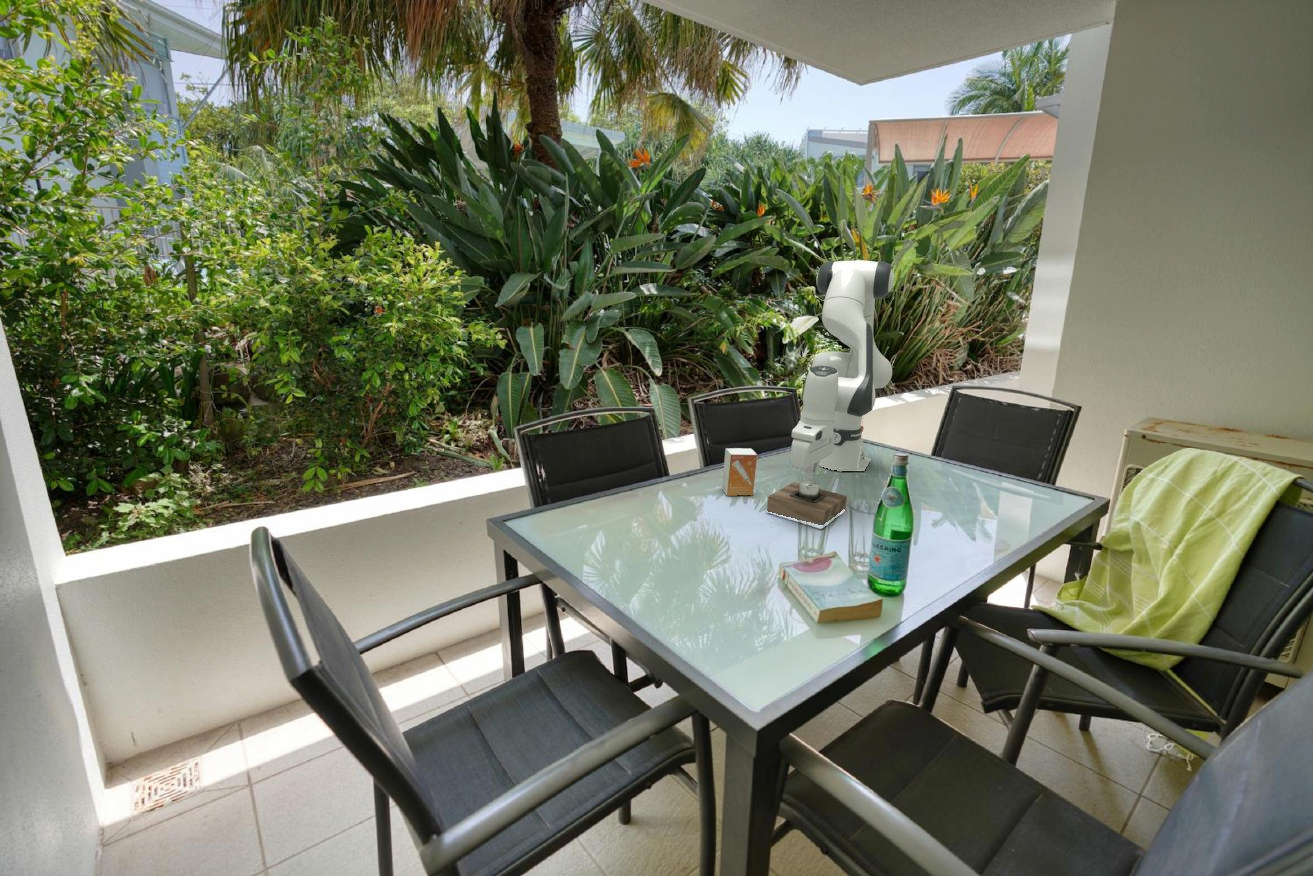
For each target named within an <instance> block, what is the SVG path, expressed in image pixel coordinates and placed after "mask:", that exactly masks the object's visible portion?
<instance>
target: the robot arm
mask: <svg viewBox="0 0 1313 876" xmlns="http://www.w3.org/2000/svg"><path fill="white" fill-rule="evenodd" d="M815 282H816V287H817V291H818V292H819V293H820V295H822V296H825V297H824V302H823V306H822V310H821V311H822V313H821V314H822V315H821V321H822V324H823V326H824V328H825V329H826V330H827V331H828V332H829V334H830V335H832V336H834V337H835V338H837V339H839V341H840V342H841V343H843V344H844V345H846V346H848V347H849V348H850V350H851V351H852V352H844V351H837V350H836V351H834V350H833V351H821V352H819V353H818V354H816V356H815V357H814V359H813V361H812V363H811V368H810V369H808V373H807V376H806V379H805V382H804V384H803V386H802V393H801V394H802V395H801V400H802V403H803V407H802V411H801V412H800V413H801V414H800V418H799V419H800V420H798V422H797V425H795V427H794V428H792V431H791V438H793V439H792V443H791V449H790V465H791V467H792V468H795V469H799V470H804V471H805V476H804V477H805V478H807V479H812V478H814V477H816V475H817V471H818V467H821V468H823V467H824V469H826V468H828V469H827V470H830V469H831V470H830V471H834V470H837V471H836V472H842V471H853V470H865V469H866V467H867V466H868V464H869V462H870V461H871V462H872V458H870V457H868V456H866V450H867V445H866V444H865V443H864V441H863V440H862V434H863V431H864V426H863V425H862V418H863V416H866V415H867V414H868V413H870V412H872V410H873V408H874V406H875V403H876V398H877V397H876V389H883V388H885V387H886V386H887V385H888V384H889V383H890V381H891V379H892V377H893V368H892V364H891V362H890V361H889V360H888V359H887V358H886V357H885V356H884V355H883V354H882V353H881V352H880V350H879V349H878V347H877V345H876V342H875V339H874V322H875V321H874V319H875V309H876V308H875V307H876V306H875V305H876V300H878V299H881V298H885V297H887V296H888V295H889V294H890V291H891V290H892V288H893V286H894V283H895V274H894V270H893V267H892V265H891V264H890V263H889V262H885V261H881V260H879V261H874V260H865V259H864V260H863V259H856V260H838V261H835V260H829V261H825V262H823V264H821V265H820V267H819V269H818V271H817V274H816V281H815ZM871 462H870V463H871ZM869 465H870V464H869ZM868 467H869V466H868ZM868 467H867V468H868ZM866 470H867V469H866Z"/></svg>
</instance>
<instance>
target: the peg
mask: <svg viewBox="0 0 1313 876" xmlns="http://www.w3.org/2000/svg"><path fill="white" fill-rule="evenodd" d="M799 483H800V490H799V497H801V498H804V499H808V500H812V501H815V500H817V497H818V490H819V489H820V488H819V487H820V484H819V483H817V482H815V481H811V480H802V481H800V482H799Z"/></svg>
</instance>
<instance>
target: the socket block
mask: <svg viewBox="0 0 1313 876" xmlns="http://www.w3.org/2000/svg"><path fill="white" fill-rule="evenodd" d="M799 490H800V482H796V481H793V482H791V483H790V484H788V485H785V486H784V487H782V488H780V489H779V490H777V491H775V492H773V493H772V494H770V495H768V497H767V507H766V512H767V511H768V512H772V513H776V514H778V515H783V516H786V517H791V518H795V519H797V520H802V521H806V522H811V523H814V524H818V525H824V524H825V523H826V522H828V521H829V520H831V519H832V518H833V517H835V516H836V515H837V514H838V513H840V512H841V511H842V510H843V509H845V510H846V508H847V501H848V495H845V494H841V493H837V492H834V491H830V490H826V489H822V488H819V490H818V497H817V500H815V501H812V500H808V499H804V498H801V497H799Z"/></svg>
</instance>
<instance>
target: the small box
mask: <svg viewBox="0 0 1313 876" xmlns="http://www.w3.org/2000/svg"><path fill="white" fill-rule="evenodd" d="M757 460H758V454H757V452H755V451H754V450H753V449H752V448H742V447H741V448H740V447H739V448H738V447H733V448H730V447H729V448H727V447H726V448H725V450H724V461H723V462H724V463H723V474H722V485H721V489H722V491H723V493H724V494H725V496H726V497H738V496H737V495H753V496H754V488H755V480H756V479H755V478H756V469H757Z"/></svg>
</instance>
